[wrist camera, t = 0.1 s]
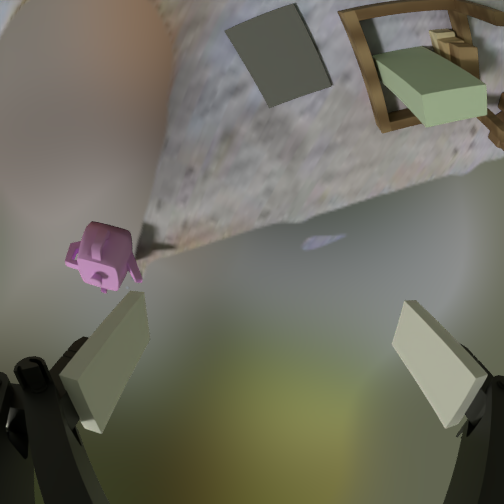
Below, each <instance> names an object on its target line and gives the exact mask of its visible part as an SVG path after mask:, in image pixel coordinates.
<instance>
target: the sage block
mask: <svg viewBox="0 0 504 504" xmlns="http://www.w3.org/2000/svg"><path fill="white" fill-rule="evenodd" d="M372 59H373V62H374V65H375V68H376V71H377V75H378V78H379V80H380V81H381V82H382V83H383V84H384V85H385V86H386V87H387V88H388V89H390V90H391V91H392V92H393V93H394V94H395V95H396V96H397V97H398V98H399V99H400V100H401V101H402V102H403V103H404V104H405V105H406V106H407V107H408V108H409V109H410V110H411V112H412V113H413V114H414V115H415V116H416V117H417V118H418V119H419V120H420V121H421V122H422V124H423V125H424V126H425V127H426V128H427V127H431V126H436V125H440V124H445V123H449V122H454V121H459V120H464V119H469V118H474V117H479V116H485V115H487V92H486V84H485V83H483V82H482V81H480V80H479V79H477V78H476V77H474V76H473V75H471V74H470V73H468V72H467V71H465V70H464V69H462V68H460V67H459V66H457V65H455V64H454V63H452V62H450V61H449V60H447V59H445V58H443V57H442V56H440V55H438V54H436V53H434V52H432V51H431V50H429V49H427V48H425V47H423V46H420V47H413V48H407V49H401V50H396V51H391V52H386V53H381V54H377V55H372Z"/></svg>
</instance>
